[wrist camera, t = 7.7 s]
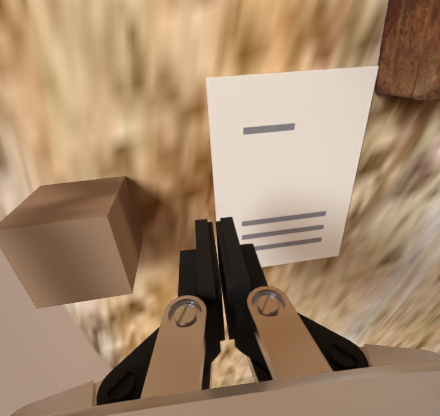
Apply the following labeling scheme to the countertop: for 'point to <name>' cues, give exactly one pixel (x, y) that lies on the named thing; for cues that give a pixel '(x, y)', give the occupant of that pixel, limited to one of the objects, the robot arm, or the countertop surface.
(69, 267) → the walnut block
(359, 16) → the countertop surface
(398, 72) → the brick
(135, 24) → the countertop surface
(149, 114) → the countertop surface
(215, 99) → the letter
